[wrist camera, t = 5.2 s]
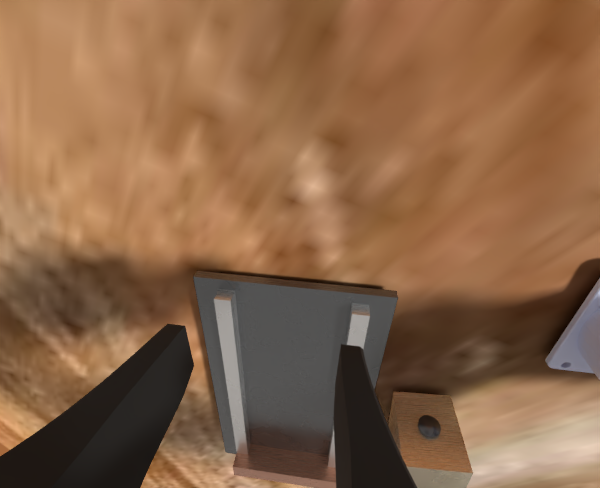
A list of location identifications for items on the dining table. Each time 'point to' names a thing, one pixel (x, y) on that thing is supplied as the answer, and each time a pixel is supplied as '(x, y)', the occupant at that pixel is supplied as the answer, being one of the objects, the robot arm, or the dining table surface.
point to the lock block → (430, 440)
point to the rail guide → (285, 367)
